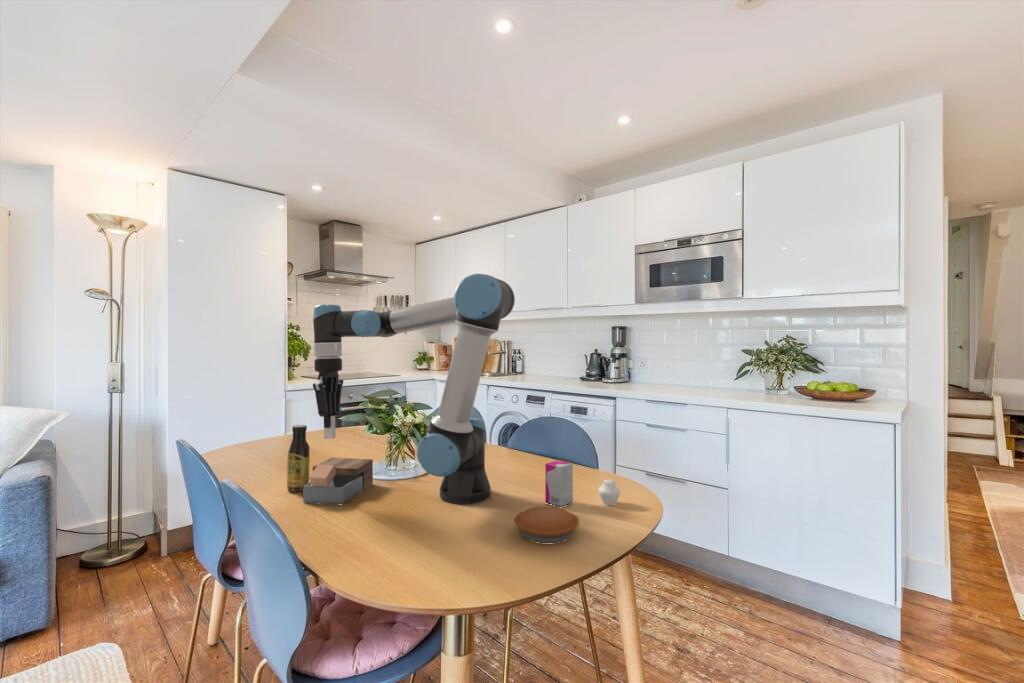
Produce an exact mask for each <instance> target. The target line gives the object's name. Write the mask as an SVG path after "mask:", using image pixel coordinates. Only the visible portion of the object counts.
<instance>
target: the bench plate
mask: <svg viewBox="0 0 1024 683" xmlns="http://www.w3.org/2000/svg"><path fill="white" fill-rule="evenodd" d="M319 464H320V465H334V467H335V470H336V474H335V475H359V476H363V491H365V490H367V489H368V488H369V487H372V485H374V484H373V483H374V481H373V480H374V478H373V477H374V476H373V475H374V473H373V471H374V470H373V469H374V468H373V466H374V465H373V458H372V459H371V458H352V457H351V458H347V457H346V458H345V457H331V458H329V459H325V460H324V461H322V462H320V463H319ZM317 465H318V464H315V465H314V466H312V472H313V471H314V469H315V468H316V466H317ZM366 488H367V489H366Z"/></svg>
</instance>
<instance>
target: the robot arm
mask: <svg viewBox="0 0 1024 683" xmlns="http://www.w3.org/2000/svg"><path fill="white" fill-rule="evenodd" d="M515 299H516V298H515V293H514V290H513V289H512V287H511V286H510V284H509V283H507V282H506V281H504V280H502V279H499V278H497V277H495V276H492V275H489V274H486V273H485V274H484V273H473V274H470V275H467V276H466V277H464V278H463V279H462V280H461V281H460V282H459V283H458V285H457V286H456V288H455V291H454V295H453V296H452V297H449V298H443V299H440V300H434V301H429V302H424V303H421V304H416V305H410V306H406V307H401V308H397V309H396V308H395V309H391V310H387V311H382V312H381V311H380V312H378V311H377V312H376V311H375V310H370V309H369V310H368V309H360V310H346V311H345V310H343V311H342V306H340V305H339V304H318V305H317V304H316V305H315V306H314V307H313V318H312V322H313V323H312V324H313V334H314V335H313V336H314V339H313V344H314V345H313V346H314V347H313V349H314V352H313V353H314V354H313V356H314V357H315V359H314V360H313V361H314V364H313V365H314V372H318V376H317V382H315V383H312V388H313V390H314V394H315V400H316V406H317V414H318V415H319V417H320V418H321V417H322V418H323V436H324V437H323V439H324V440H326V439H327V440H333V439H336V416H339V414H340V410H341V398H342V391H343V390H342V389H343V385H344V379H340V375H339V372H341V371H342V370H343V359H342V358H341V357H342V356H343V348H342V338H350V337H351V338H359V337H361V338H371V337H372V338H375V337H378V338H379V337H380V338H389V337H394V336H396V335H398V334H405V333H408V332H413V331H414V332H415V331H419V330H423V329H424V330H425V329H430V328H434V327H441V326H444V325H449V324H456V325H457V327H458V331H457V334H456V335H457V336H456V340H455V344H454V348H453V351H452V355H451V360H450V364H449V368H448V372H447V377H446V381H445V385H444V388H443V393H442V396H441V401H440V404H439V409H438V413H437V415H435V416H433V417H432V418H431V419H430V422H429V425H428V430H427V434H426V435H425V436H423V437H422V438H421V440H419V442H418V444H417V447H416V448H417V449H416V456H417V461H418V463H419V464H420V466H421V468H422V469H423V470H424V471H425V472H426V473H427V474H429V475H431V476H434V477H437V478H438V477H441V478H442V480H441V482H440V487H439V499H441V500H442V501H444V502H446V503H447V502H448V503H452V504H459V505H460V504H475V503H479V502H482V501H485V500H487V499H488V498H490V497H491V495H492V494H491V492H492V490H491V484H490V481H489V478H488V475H487V472H486V467H485V463H486V460H485V459H486V458H485V457H486V456H485V454H486V453H485V452H486V451H485V449H486V448H485V446H486V439H485V438H486V428H485V422H484V420H483V419H481V418H476V417H475V418H474V417H471V416H472V412H473V407H474V404H475V401H476V396H477V392H478V387H479V385H480V384H479V383H480V380H481V375H482V371H483V368H484V364H485V360H486V356H487V352H488V348H489V343H490V339H491V336H492V335H493V334H495V333H497V332H498V331H499V327H500V324H501V320H503V319H504V318H506V317H507V316H509V315H510V314H511V313H512V311H513V310H514V306H515V304H516V301H515Z"/></svg>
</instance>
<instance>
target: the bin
mask: <svg viewBox="0 0 1024 683" xmlns="http://www.w3.org/2000/svg"><path fill="white" fill-rule="evenodd" d="M332 480H333V482H334V485H335V487H325V486H311V484H312V483H311V481H309V483H308V484H306V485H304V486H303V491H302V492H303V493H302V496H303V499H302V500H303V501H302V502H307V503H306V504H313V503H321V504H320V505H331V504H342V505H341V506H344V505H345V504H346V502H347V501H348V502H349V501H351V500H352V499H353V497H354V496H355V497H357V496H358V495H359V494H361V493H362V492H363V491H364V490H363V476H359V475H335V476H334V478H333V479H332ZM361 491H362V492H361ZM360 492H361V493H360ZM358 493H359V494H358ZM357 494H358V495H357ZM356 495H357V496H356ZM355 497H354V498H355ZM351 498H352V499H351ZM350 499H351V500H350ZM348 502H347V503H348ZM344 503H345V504H344ZM343 504H344V505H343Z"/></svg>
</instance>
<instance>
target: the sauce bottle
mask: <svg viewBox="0 0 1024 683" xmlns="http://www.w3.org/2000/svg"><path fill="white" fill-rule="evenodd" d="M307 427H308V426H307V424H296V425H295V424H294V425H293V426H292V428H291V429H292V430H291V431H292V440H291V443H290V446H289V448H288V452H287V467H286V468H287V470H286V474H287V475H286V476H287V477H286V486H287V487H286V488H287V491H288V492H291V493H294V492H295V493H299V491H300V492H303V486H304V485H306V484H308V483H310V478H309V477H310V459H311V458H310V445H309V443H308V442H307V437H306V436H307Z"/></svg>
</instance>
